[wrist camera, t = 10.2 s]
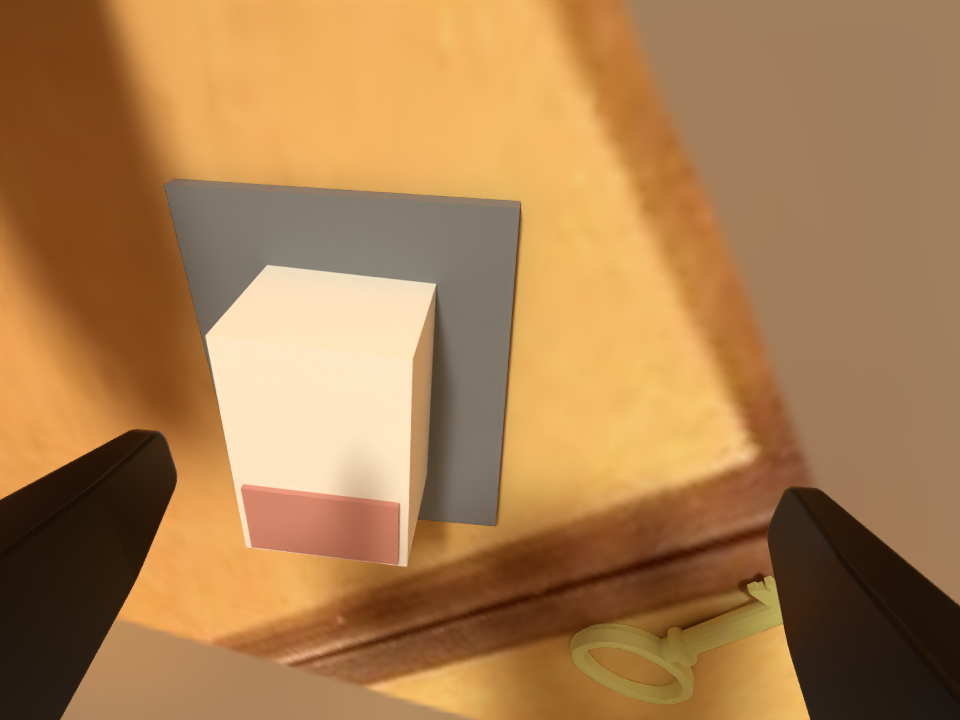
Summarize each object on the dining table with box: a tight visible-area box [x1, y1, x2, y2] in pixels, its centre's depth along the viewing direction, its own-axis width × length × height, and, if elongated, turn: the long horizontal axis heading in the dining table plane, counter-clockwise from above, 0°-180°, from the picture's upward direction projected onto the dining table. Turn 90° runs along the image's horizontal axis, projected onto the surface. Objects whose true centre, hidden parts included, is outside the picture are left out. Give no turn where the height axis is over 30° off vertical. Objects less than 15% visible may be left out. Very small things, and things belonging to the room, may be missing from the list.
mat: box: [164, 179, 520, 526], centre depth 23 cm, size 14×11×1 cm
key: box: [569, 576, 783, 705], centre depth 29 cm, size 7×12×2 cm, turn 158°
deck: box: [205, 265, 436, 567], centre depth 21 cm, size 6×9×5 cm, turn 175°
